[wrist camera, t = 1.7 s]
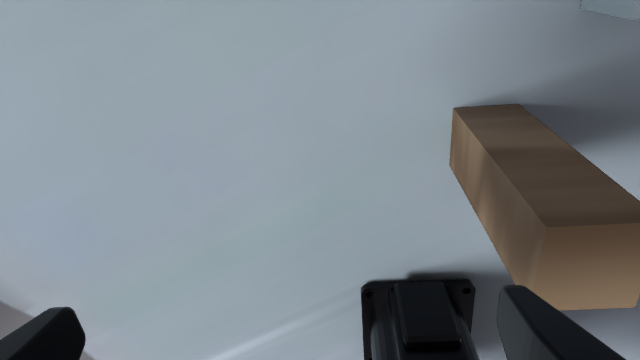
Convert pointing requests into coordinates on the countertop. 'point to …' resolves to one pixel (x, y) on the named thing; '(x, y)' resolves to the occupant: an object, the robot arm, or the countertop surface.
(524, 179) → the peg
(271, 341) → the countertop surface
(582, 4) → the holder
